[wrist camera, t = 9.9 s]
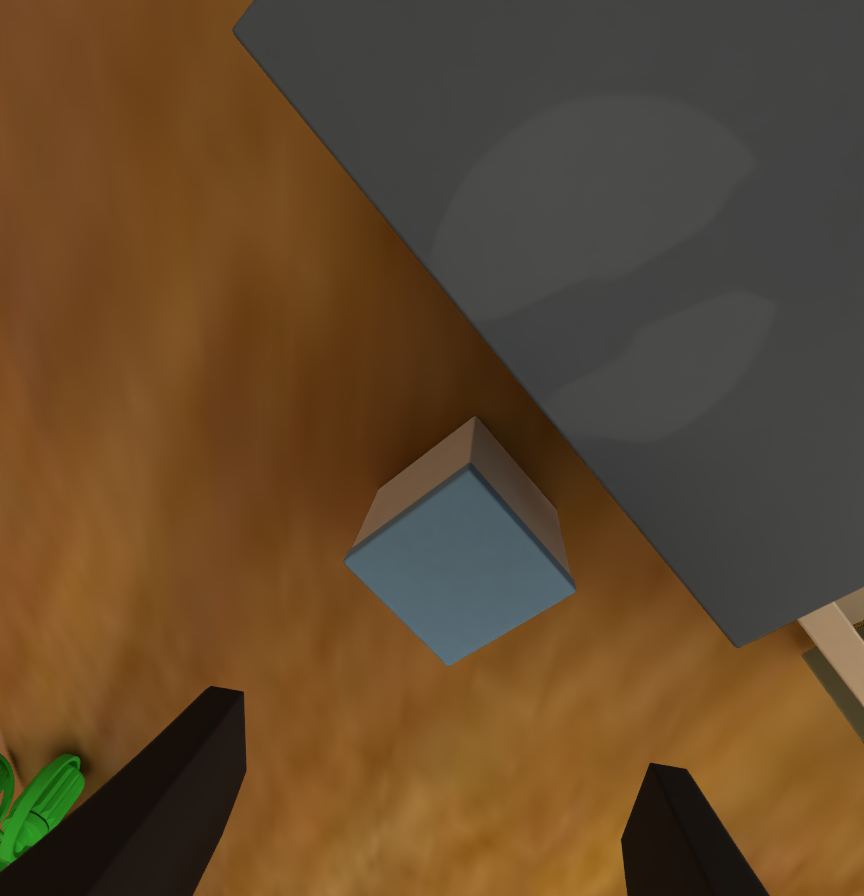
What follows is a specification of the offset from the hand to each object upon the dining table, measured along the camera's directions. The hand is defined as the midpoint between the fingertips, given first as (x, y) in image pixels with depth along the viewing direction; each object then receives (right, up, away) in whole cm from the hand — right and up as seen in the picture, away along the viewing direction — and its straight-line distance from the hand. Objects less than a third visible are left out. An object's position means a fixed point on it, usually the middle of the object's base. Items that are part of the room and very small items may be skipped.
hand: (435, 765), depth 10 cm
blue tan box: (+1, +4, +9) cm, 10 cm away
